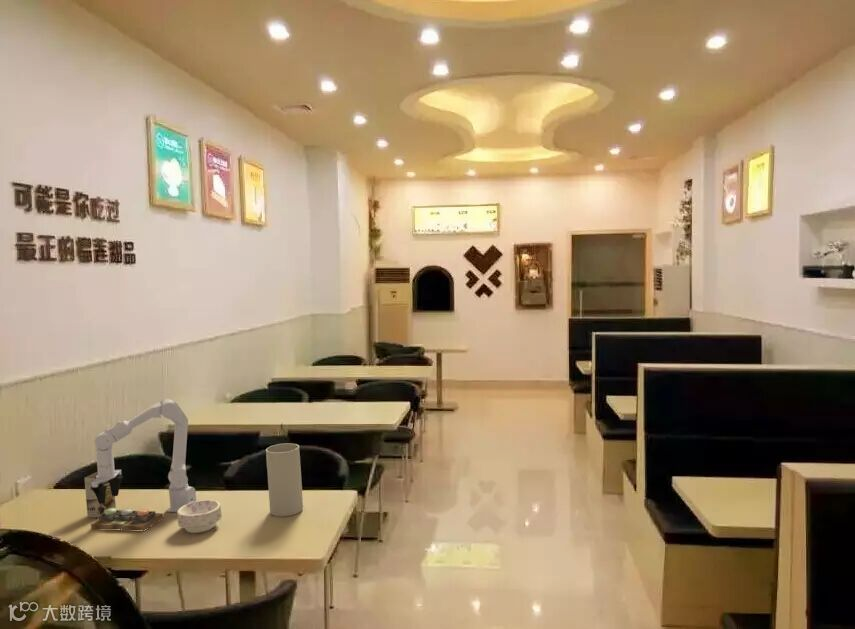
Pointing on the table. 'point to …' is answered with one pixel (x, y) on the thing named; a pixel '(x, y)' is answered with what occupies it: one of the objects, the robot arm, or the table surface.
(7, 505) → the table surface
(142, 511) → the terracotta button
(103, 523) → the console
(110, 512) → the sage button
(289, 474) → the cylinder vase
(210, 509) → the paper bowls
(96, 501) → the coffee box
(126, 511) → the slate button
